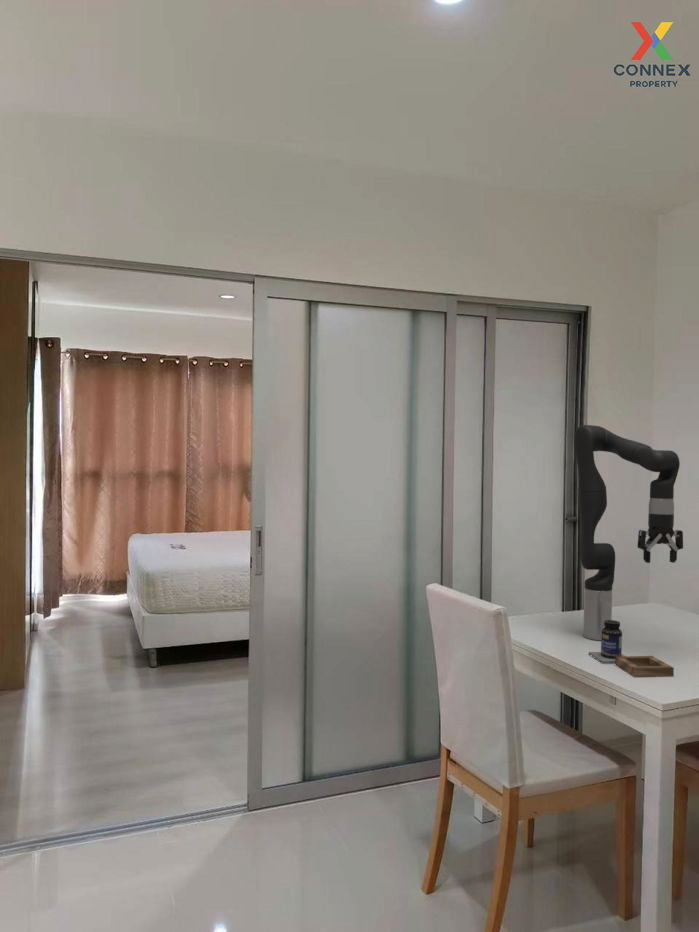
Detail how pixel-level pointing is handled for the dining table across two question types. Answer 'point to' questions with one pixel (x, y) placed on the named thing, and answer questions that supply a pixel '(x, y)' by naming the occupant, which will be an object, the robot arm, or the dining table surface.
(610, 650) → the pill bottle
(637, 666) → the walnut holder
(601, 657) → the grey pad
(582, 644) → the dining table surface
